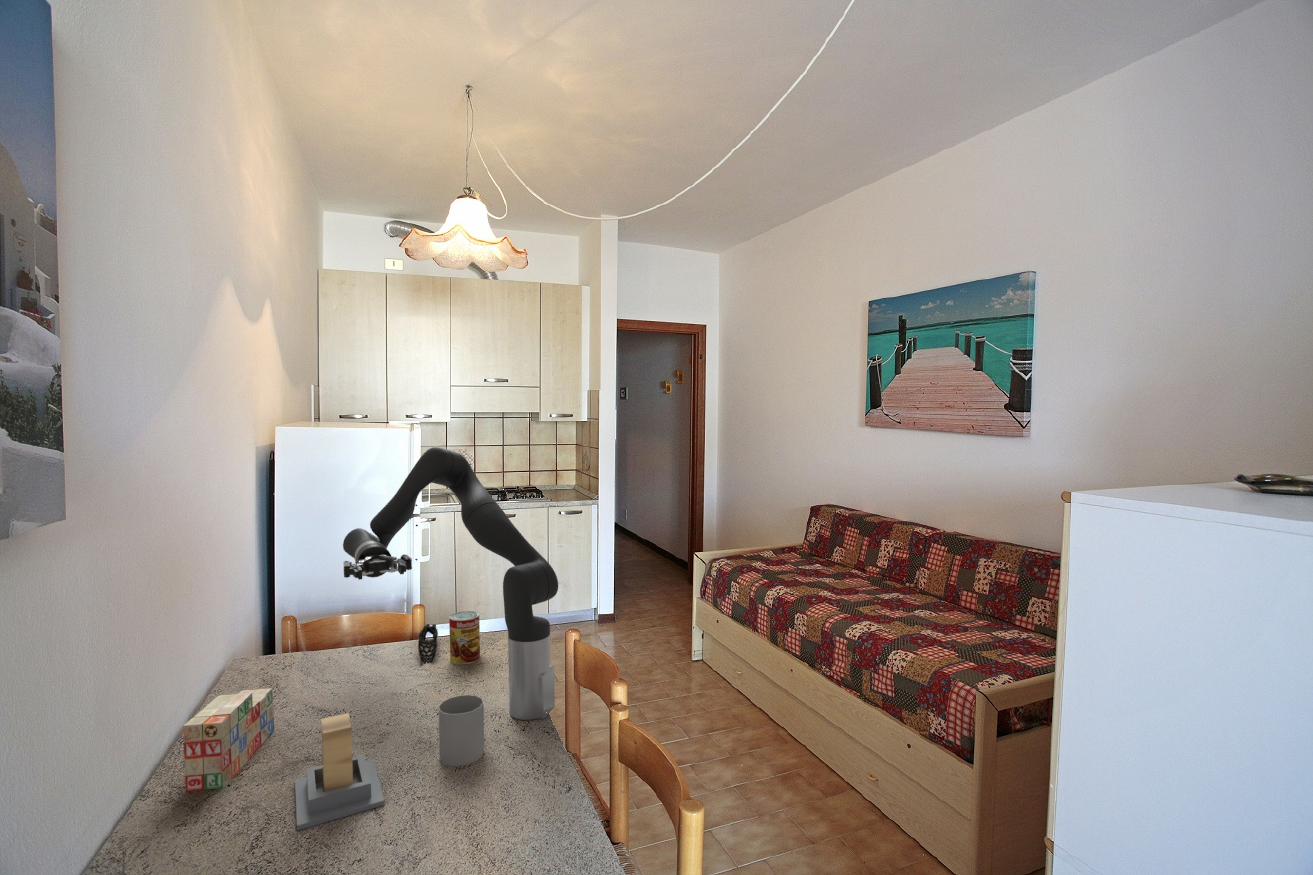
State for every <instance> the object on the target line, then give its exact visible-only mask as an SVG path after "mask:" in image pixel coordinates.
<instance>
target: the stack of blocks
mask: <svg viewBox="0 0 1313 875" xmlns="http://www.w3.org/2000/svg"><path fill="white" fill-rule="evenodd" d="M273 698H274V697H273V688H271V687H270V688H260V689H259V688H257V689H247V690H246V689H245V690H240V691H239V692H238V693H233V694H220V695H218V696H216V697H215V698H214V699H213V700H212V701H211V702H210V703H208V704H207V705H206V706H205V707H203V709H202V710H200V711H199V712H198V713H197V714H196V715H194V716H193V717H192V718H191V719H189V720H188V721H187V722H186V723H184V724H183V741H184V742H183V755H184V756H183V759H184V773H185V776H184V780H185V781H184V782H185V792H193V791H195V792H196V791H204V790H206V791H207V790H215V789H223V788H225V787H226V786H227V785H228V783H229V782H230V781H231V780H232V779H233V778H234V777H235V776H236V775H237V774H238V772H240V771H241V769H242V768H243V767H244V766H245V765H246V764H247V762H248V759H250V758H252V756H253V755H254V754H255V752H256V751H257V750H258V749H259V748H260V747H261V746H262V745H263V744H264V743H265V741H266V740H267V739H268V738H269V737H270V736H271V735H272V733H274V731H275V716H274V715H275V711H274V710H275V709H274V707H275V706H274V701H273ZM270 734H271V735H270ZM269 735H270V736H269ZM268 736H269V737H268ZM253 753H254V754H253Z"/></svg>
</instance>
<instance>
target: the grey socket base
mask: <svg viewBox="0 0 1313 875" xmlns="http://www.w3.org/2000/svg"><path fill="white" fill-rule="evenodd" d="M352 764H353V785H349V786H346V787H342V788H338V789H335V790H331V791H327V792H324V790H323V765H322V764H320V765H316V766H313V767H308V768H306V776H305V777H302V778H297V779H295V780H294V783H295V784H294V787H295V788H294V789H295V811H296V813H295V814H296V815H295V816H296V831H300V830H304V829H307V828H310V827H314V826H318V825H320V824H324V823H327V822H331V821H334V820H337V819H342V818H344V817H347V816H351V815H354V814H359V813H362V812H365V811H369V810H371V809H375V808H379V807H382V806H385V798H384V795H383V791H382V787H381V783H380V780H379V775H378V773H377V769H376V766H375V761H374V759H370V760H366V758H365V754H360V755H357V756H352Z"/></svg>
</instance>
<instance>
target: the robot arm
mask: <svg viewBox="0 0 1313 875" xmlns="http://www.w3.org/2000/svg"><path fill="white" fill-rule="evenodd" d="M430 484H436V485H439V486H443V487H446V488H448V489H449V490H450V491H451V492H452V493H453V494H454V495H455V497H457V499H458V501H459V502H460V505H461V507H460V510H461V511H460V514H461V520H462V522H463V523H462V524H463V525H464V526H465V528H466V530H467V531H468V533H469V534H470V535H471V537H472V538H473V539H474V541H475V542H477V543H478V545H480V546H482V547H483V548H484V549H485V550H486V549H487V550H488V551H490V552H492V553H493V554H496V555H498V556H500V557H502V558H504V559H505V560H507V561H509V562H510V563H511V564H512V565H513V566H512V567H509V568H508V569H507V570H506V571H505V573H504V576H503V582H502V597H503V607H504V608H503V610H504V621H505V622H504V623H505V625H506V628H507V640H508V641H507V642H508V643H507V644H508V645H507V647H508V650H507V652H508V655H507V656H508V699H509V702H508V706H509V715H510V716H511V717H512V718H514V719H516V720H522V721H531V720H536V719H545V718H546V717H547V716H548V715H547V713H548V714H550V712H551V711H552V710H553V709H554V708H555V707H556V706H555V704H556V700H555V699H556V698H555V697H556V696H555V666H554V665H551V624H550V620H548V619H547V618H544V617H542V616H538V615H537V616H536V615H534V612H533V606H534V605H538V604H540V603H541V604H542V603H545V602H547V601H549V600H552V599H553V598H554V597H555V596H556V595H557V594H558V590H559V581H558V577H557V576H558V575H557V573H556V571H555V570H554V568H553V567H552V565H551V564H550V563H549V562H548V560H546V559H545V558H544V557H543V555H542V554H541V553H539V551H538V550H536V548H534V546H532V544H531V543H529V541H528V540H527V539H526V538H525V537H524V535H523V534H522V533H521V532H520V531H519V530H518V528H517V527H516V526H515V525H514V523H513V522H512V521H511V520H510V518H509V517H508V515H507V514H506V512H504V510H503V508H501V506H500V505H499V503H498V502H497V501H496V499H495V498H494V497H493V496H491V494H490V493H489V492H488V490H487V488H485V487H484V485H483V484H482V483H481V481H480V480H479V478H478V476H477V474H476V473H475V472H474V469H473V468H472V467H471V464H470V462H468V460H467V458H466V457H465V456H464V455H463V454H462V453H460V452H457V451H455V450H454V451H453V450H451V449H448V448H446V447H441V446H432V447H430V448H428V449H427V450H425V452H424V453H423V454H422V455H421V456H420V458H418V460H417V462H416V463H415V464H414V466H413V467H412V469H411V470H410V472H409V473H408V474H407V476H406V478H405V479H404V480H403V483H401V486H400V487H399V488H398V490H397V491H396V492H395V494H394V495H393V496H392V498H391V499H389V501H388V502H387V503H386V504H385V505H384V507H383V508H381V509H380V511H378V513H377V514H376V515H375V516H373V517H372V519H371V521H370V522H369V526H370V529H371V531H372V533H371V532H369V531H367V530H366V529H363V528H362V527H361V528H359V527H358V528H354V529H352V530H351V531H349V532H348V533H347V534H346V536H345V537H344V539H343V543H342V547H343V551H344V552H345V553H346V554H347V555H349V556H350V557H352V558H353V559H354V563H352V561H349V560H345V561H343V577H344V578H350V577H351V576H352V577H353V578H355V579H358V580H363V577H368V578H379V577H381V576H383V575H385V574H386V573H391V574H392V573H395V572H398V573H399V574H400V575H404V574H405V573H406V572H407V571H410V570H412V569H413V566H412V565H413V563H412V561H413V560H412V557H410V556H409V555H408V554H402V555H401V556H400V558H397V557H396V556H392V554H391V552H390V551H389V550H388V549H387V548H388V546H389V545H390V543H391V541H392V539H393V538H394V537H395V536H396V535H397V534H398V533H399V531H401V529H402V528H403V527H404V526H405V525H406V524H408V522H409V521H410V519H411V518H412V516H413V514H414V512H415V507H416V503H417V500H418V497H419V495H420V493H421V492H422V491H423V490H424V489H425V488H426V487H428V486H429V485H430ZM544 708H545V709H544ZM546 712H547V713H546Z"/></svg>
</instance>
